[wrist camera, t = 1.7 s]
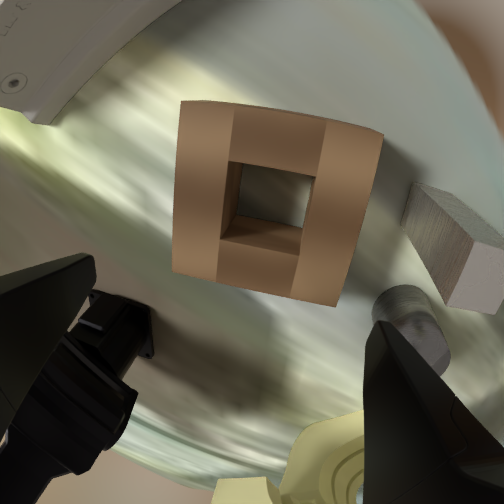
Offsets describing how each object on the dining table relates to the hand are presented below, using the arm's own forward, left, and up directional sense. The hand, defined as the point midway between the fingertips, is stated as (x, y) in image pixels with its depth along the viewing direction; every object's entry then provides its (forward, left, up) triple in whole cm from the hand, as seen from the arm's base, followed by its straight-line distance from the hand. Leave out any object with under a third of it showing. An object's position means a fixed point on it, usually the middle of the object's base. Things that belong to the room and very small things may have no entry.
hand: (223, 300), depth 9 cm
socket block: (0, 0, -12) cm, 12 cm away
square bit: (+1, -10, -12) cm, 16 cm away
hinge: (+11, +15, -12) cm, 22 cm away
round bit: (-7, -11, -12) cm, 18 cm away
